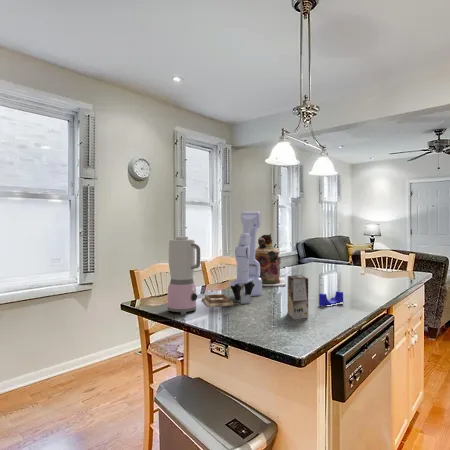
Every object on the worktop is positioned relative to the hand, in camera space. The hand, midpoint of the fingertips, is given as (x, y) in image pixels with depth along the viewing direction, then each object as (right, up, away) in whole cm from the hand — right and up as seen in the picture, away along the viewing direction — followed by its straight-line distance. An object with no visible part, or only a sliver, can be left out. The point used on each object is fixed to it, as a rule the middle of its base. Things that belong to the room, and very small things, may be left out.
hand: (242, 299), depth 164 cm
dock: (-12, -1, -1) cm, 12 cm away
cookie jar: (+17, -2, +53) cm, 56 cm away
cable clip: (+40, -2, -6) cm, 41 cm away
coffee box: (+21, -2, -26) cm, 33 cm away
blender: (-26, -2, -18) cm, 31 cm away
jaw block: (0, -1, 0) cm, 1 cm away
